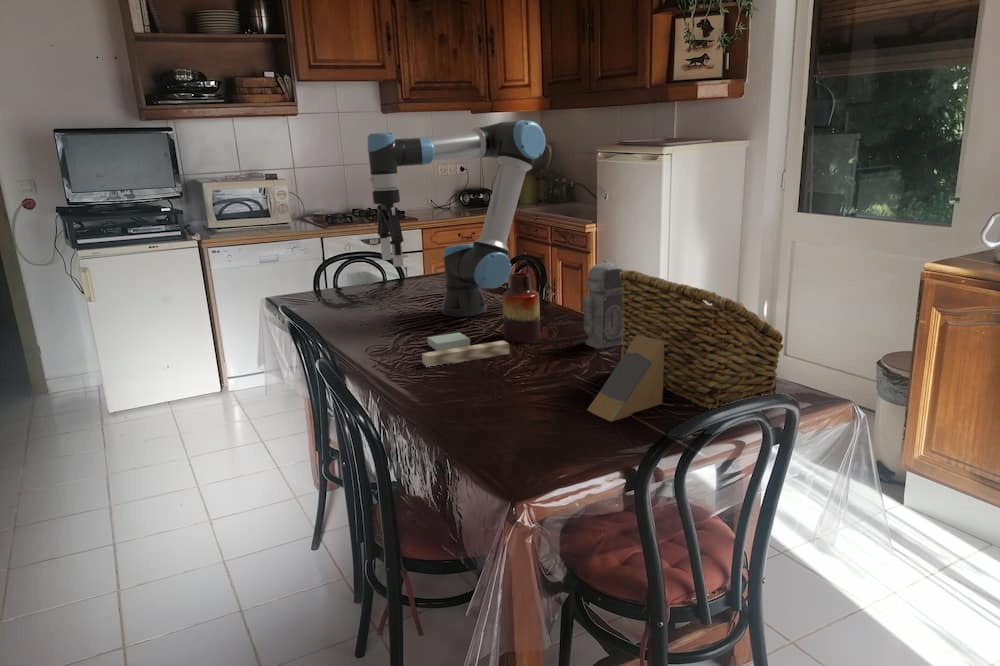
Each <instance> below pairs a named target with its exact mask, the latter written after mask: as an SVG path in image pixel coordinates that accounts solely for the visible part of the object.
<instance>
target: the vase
mask: <svg viewBox="0 0 1000 666" xmlns="http://www.w3.org/2000/svg"><path fill="white" fill-rule="evenodd" d="M509 286H510V287H509V288H510V289H509V290H507V291H505V292H503V294H502V319H503V320H502V321H503V322H502V323H503V339H504V341H506V342H507V341H508V342H510V343H511V342H512V343H520V344H521V343H530V342H531V343H532V342H535V341H538V340H540V339H541V321H540V320H541V316H540V315H541V314H540V312H541V310H540V294H539V292H538V291H536V290H534V289H532V286H531V278H530V273H528V272H515V273H510V285H509Z"/></svg>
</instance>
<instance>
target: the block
mask: <svg viewBox="0 0 1000 666" xmlns="http://www.w3.org/2000/svg"><path fill="white" fill-rule="evenodd" d="M428 344H429V345H430V346H431V347H432V348H431V347H430V346H429V345H428ZM427 345H428V346H429V347H430V348H431V349H433V348H434V349H435V350H434V349H433V350H434V351H440V350H446V349H453V348H459V347H465V346H471V338H470V337H469V336H466V335H465V334H463V333H461V332H454V333H447V334H441V335H435V336H429V337H428V336H427Z"/></svg>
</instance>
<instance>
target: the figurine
mask: <svg viewBox="0 0 1000 666" xmlns="http://www.w3.org/2000/svg"><path fill="white" fill-rule="evenodd" d="M622 270H623V268H622V267H621V266H620V264H617V263H614V262H611V261H609V260H607V259H606V260H604V261H603V262H600V263H597V264H595V265H593V266H592V267H591V268H590V269H589V272H588V276H587V281H586V284H585V288H586V289H588V294H587V295H585V296H584V297H583V299H582V307H583V308H582V309H583V326H582V329H583V330H584V332H585V334H587V335H588V338H587V339H586V340H585V345H587V346H589V347H590V348H593V347H594V349H596V350H601V349H604V348H605V349H606V348H611V347H616V346H622V340H623V337H622V335H623V334H622V331H623V330H622V326H623V324H622V321H623V320H622V318H623V316H622V313H623V303H622V296H623V295H624V294H623V293H622V288H623V286H622V283H623V280H621V279H620V275H619V274H620V272H621V271H622Z"/></svg>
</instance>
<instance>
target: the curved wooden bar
mask: <svg viewBox="0 0 1000 666" xmlns="http://www.w3.org/2000/svg"><path fill="white" fill-rule="evenodd" d="M510 353H511V352H510V343H509V341H508V342H507V340H498V341H492V342H485V343H478V344H473V345H470V346H465V347H459V348H453V349H446V350H440V351H436V350H434V351H428V352H422V353H421V358H422V365H423V364H424V365H425V366H426V367H425V366H424V365H423V366H424V367H425V368H427V367H429V368H431V367H430V366H435V367H437V366H436V365H441V366H444V365H443V364H447V365H451V364H450V363H453V364H457V363H458V362H459V363H463V362H464V361H465V362H469V361H475V360H481V359H487V358H493V357H500V356H503V355H504V356H505V355H510Z"/></svg>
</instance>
